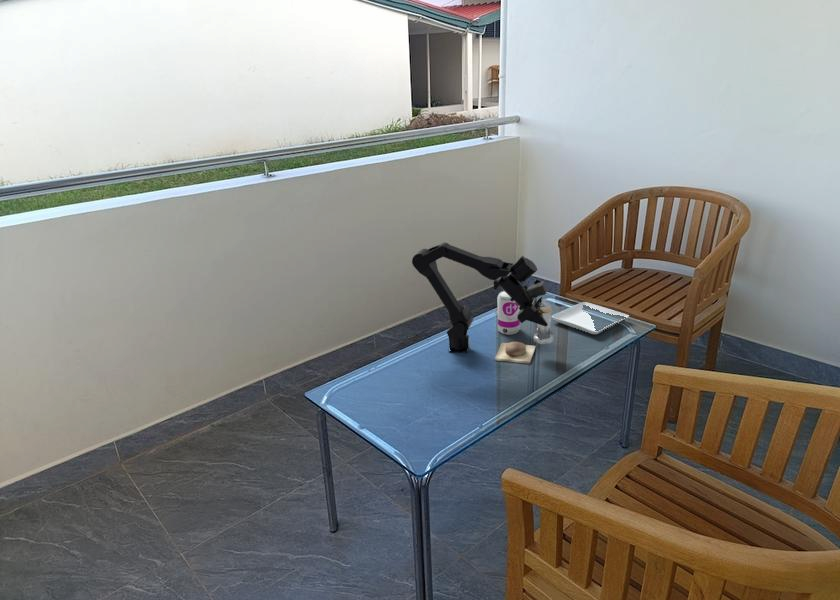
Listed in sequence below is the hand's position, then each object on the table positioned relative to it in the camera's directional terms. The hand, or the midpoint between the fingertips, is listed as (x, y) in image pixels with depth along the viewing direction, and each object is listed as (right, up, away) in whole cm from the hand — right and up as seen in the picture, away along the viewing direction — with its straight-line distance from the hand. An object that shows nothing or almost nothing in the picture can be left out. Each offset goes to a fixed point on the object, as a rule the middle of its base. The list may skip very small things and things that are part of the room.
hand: (547, 322), depth 200 cm
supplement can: (-9, -4, +26) cm, 28 cm away
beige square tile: (-10, -11, +8) cm, 17 cm away
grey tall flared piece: (-1, -6, +3) cm, 7 cm away
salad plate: (+22, -2, +29) cm, 36 cm away
